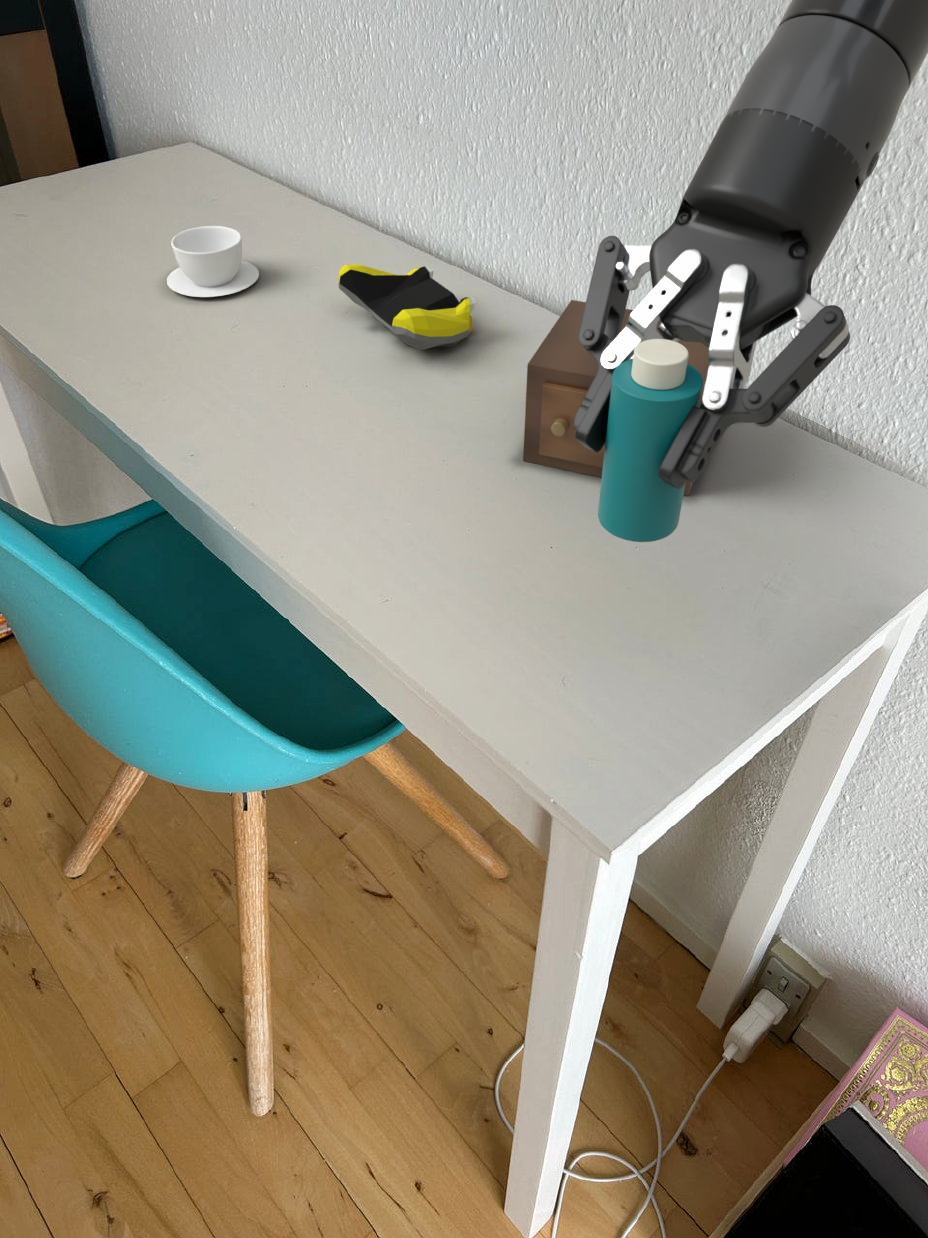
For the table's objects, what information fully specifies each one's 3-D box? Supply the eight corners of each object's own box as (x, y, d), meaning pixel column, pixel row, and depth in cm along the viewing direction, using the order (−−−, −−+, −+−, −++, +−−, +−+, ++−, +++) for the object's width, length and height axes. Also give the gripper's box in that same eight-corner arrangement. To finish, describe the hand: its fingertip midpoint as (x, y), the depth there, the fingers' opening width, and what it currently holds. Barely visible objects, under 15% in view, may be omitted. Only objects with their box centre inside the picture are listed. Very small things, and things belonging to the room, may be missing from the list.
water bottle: (685, 503, 55) (716, 337, 48) (668, 550, 52) (698, 380, 45) (609, 487, 56) (627, 323, 49) (588, 532, 53) (605, 364, 46)
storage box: (715, 421, 86) (734, 326, 80) (684, 505, 77) (703, 405, 71) (564, 392, 90) (571, 299, 84) (517, 469, 81) (521, 371, 75)
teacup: (272, 288, 106) (266, 246, 103) (182, 308, 103) (173, 265, 99) (242, 255, 113) (235, 214, 109) (156, 273, 109) (147, 231, 106)
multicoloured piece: (405, 375, 92) (493, 348, 96) (402, 321, 89) (494, 294, 93) (333, 314, 102) (416, 291, 106) (328, 262, 98) (414, 241, 102)
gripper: (646, 76, 48) (485, 391, 50) (932, 136, 41) (734, 500, 43) (687, 161, 54) (544, 437, 56) (940, 225, 48) (768, 538, 49)
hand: (627, 462), depth 49 cm, fingers closed on water bottle, 4 cm apart
